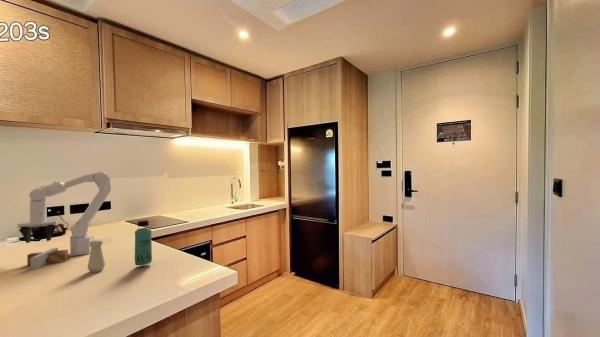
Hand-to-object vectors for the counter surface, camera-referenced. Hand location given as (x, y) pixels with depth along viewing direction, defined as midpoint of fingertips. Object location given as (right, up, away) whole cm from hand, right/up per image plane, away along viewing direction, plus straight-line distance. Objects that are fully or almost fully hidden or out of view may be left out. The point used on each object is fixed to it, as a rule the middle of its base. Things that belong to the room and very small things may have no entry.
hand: (38, 241), depth 123 cm
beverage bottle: (+58, -8, -12) cm, 60 cm away
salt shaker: (+41, -8, -16) cm, 44 cm away
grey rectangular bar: (+7, -9, -4) cm, 12 cm away
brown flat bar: (+8, -9, -3) cm, 13 cm away
